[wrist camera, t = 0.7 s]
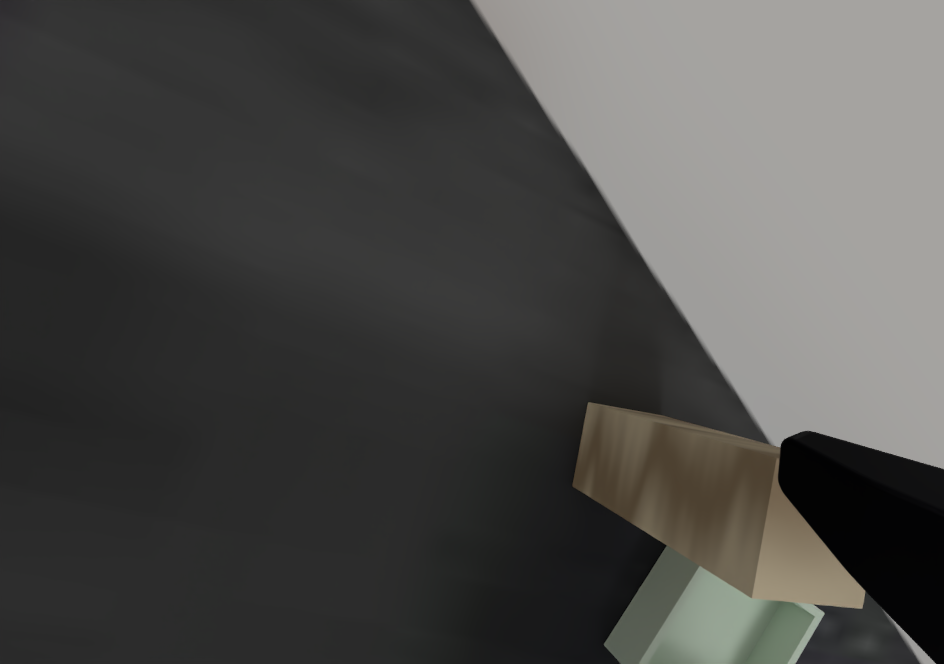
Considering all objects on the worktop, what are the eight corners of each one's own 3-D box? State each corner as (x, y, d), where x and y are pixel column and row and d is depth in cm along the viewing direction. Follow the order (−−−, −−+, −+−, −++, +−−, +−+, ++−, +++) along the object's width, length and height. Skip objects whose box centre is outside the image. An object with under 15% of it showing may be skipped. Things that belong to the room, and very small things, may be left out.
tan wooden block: (646, 496, 30) (862, 608, 19) (572, 485, 29) (751, 598, 17) (661, 415, 30) (885, 476, 19) (588, 402, 29) (776, 458, 18)
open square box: (708, 716, 31) (744, 751, 29) (603, 644, 30) (631, 674, 27) (784, 590, 32) (824, 613, 30) (686, 514, 31) (720, 532, 28)
